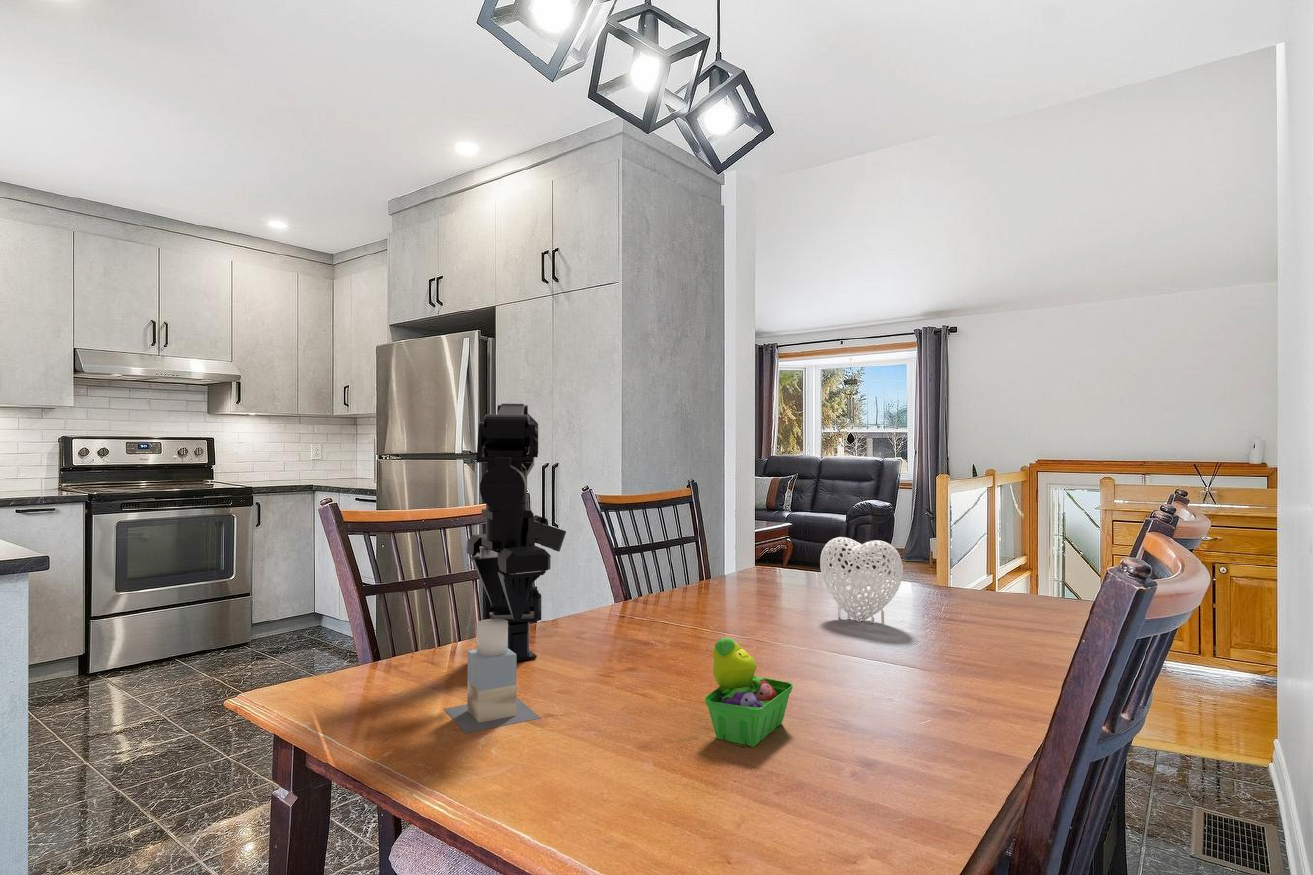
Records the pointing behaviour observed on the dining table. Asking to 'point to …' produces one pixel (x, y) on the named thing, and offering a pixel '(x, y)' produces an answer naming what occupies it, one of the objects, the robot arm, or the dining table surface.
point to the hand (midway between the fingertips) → (506, 612)
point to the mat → (473, 725)
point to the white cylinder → (492, 637)
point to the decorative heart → (861, 576)
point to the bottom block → (491, 703)
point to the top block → (491, 670)
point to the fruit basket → (744, 697)
